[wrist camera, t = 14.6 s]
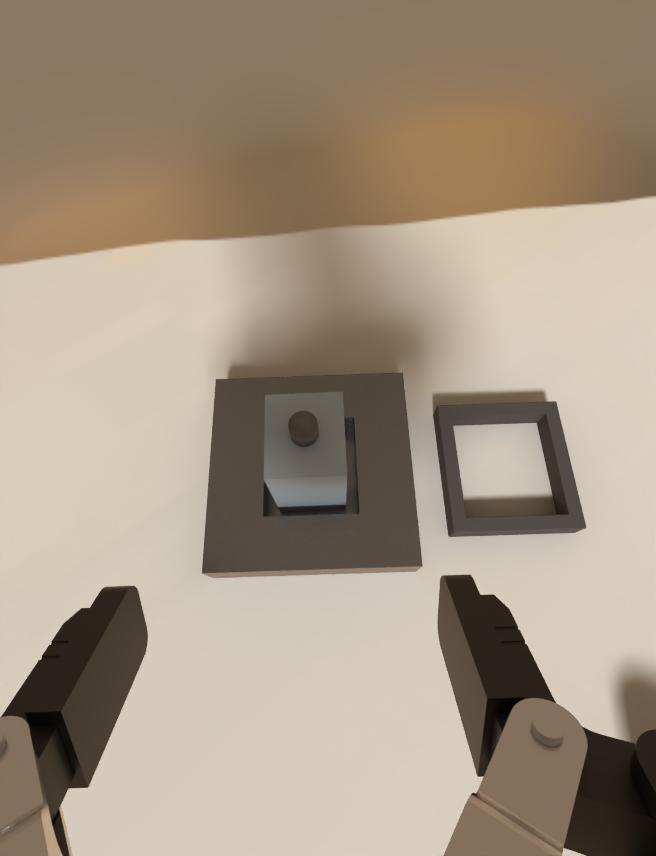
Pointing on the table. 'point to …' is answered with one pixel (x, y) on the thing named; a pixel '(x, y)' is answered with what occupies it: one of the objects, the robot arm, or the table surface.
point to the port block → (312, 530)
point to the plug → (305, 451)
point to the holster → (555, 457)
